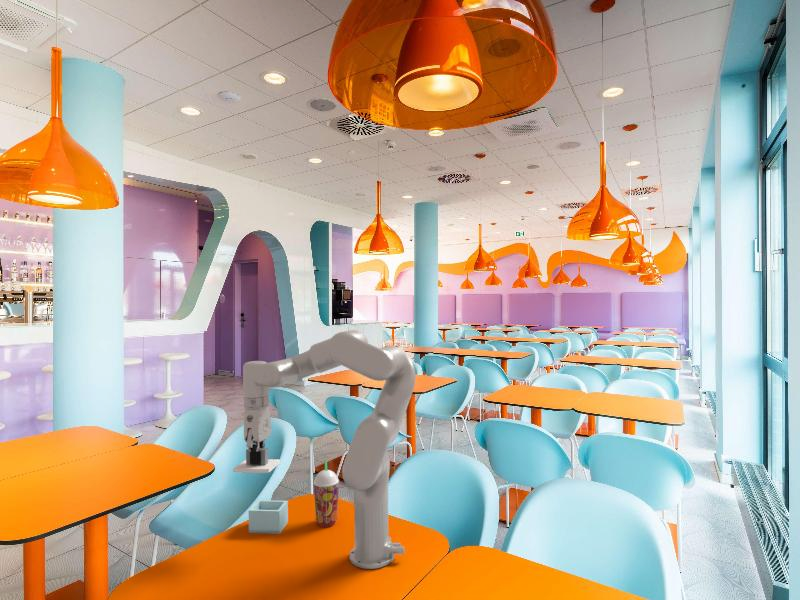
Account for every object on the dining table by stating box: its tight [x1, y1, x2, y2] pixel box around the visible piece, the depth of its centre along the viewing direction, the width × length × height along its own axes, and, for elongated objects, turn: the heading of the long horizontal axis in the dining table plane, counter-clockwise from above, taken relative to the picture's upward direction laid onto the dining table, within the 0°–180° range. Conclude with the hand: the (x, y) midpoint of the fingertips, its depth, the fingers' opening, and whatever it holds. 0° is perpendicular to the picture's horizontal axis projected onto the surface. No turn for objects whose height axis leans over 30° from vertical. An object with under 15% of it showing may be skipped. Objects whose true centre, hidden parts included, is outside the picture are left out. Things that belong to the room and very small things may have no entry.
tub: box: [248, 499, 289, 535], centre depth 152 cm, size 10×8×7 cm
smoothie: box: [312, 461, 340, 528], centre depth 155 cm, size 8×8×20 cm
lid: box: [232, 447, 281, 474], centre depth 143 cm, size 11×9×6 cm
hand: (257, 462), depth 143 cm, fingers closed on lid
